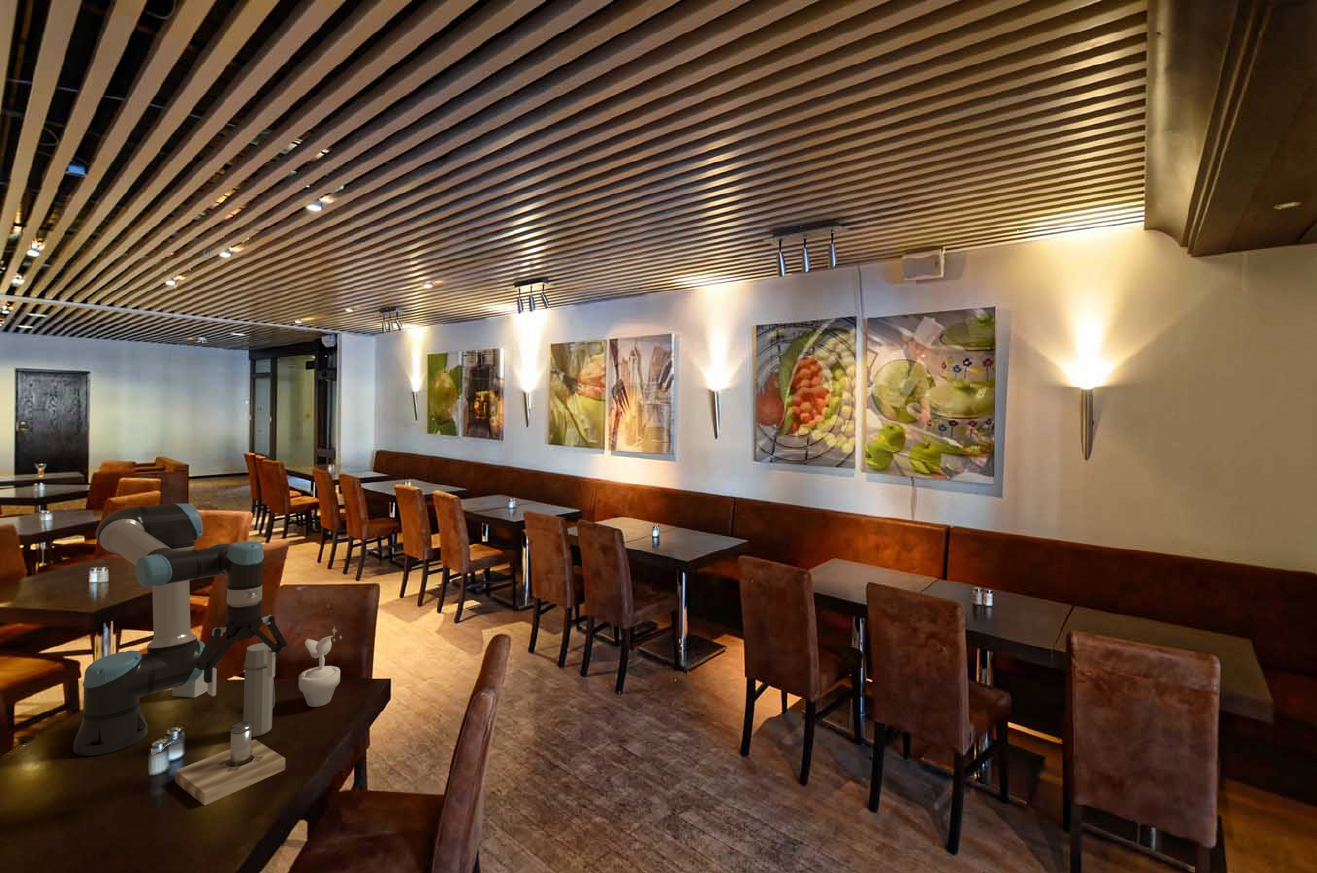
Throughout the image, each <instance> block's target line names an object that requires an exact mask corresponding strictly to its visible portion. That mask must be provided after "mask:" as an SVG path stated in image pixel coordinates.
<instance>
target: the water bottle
mask: <svg viewBox="0 0 1317 873" xmlns="http://www.w3.org/2000/svg"><path fill="white" fill-rule="evenodd" d="M269 650H271V649H270V648H269V647H268V646H267V645H266V644H264V643H263V642H260V643H254V644H252V645H249V646H247V647H246V654H245V660H244V663H243V666H244V683H243V684H244V685H243V686H244V688H243V689H244V690H243V719H242V720H243V721H242V722H250V723H251V724H252V729H251V738H255V737H261V736H263V735H265V734H267V733H269V732H270V731H271V730H272V728H273V709H274V708H275V703H276V694H275V693H276V692H275V682H274V678H275V677H270V676H268V675H267V651H269Z"/></svg>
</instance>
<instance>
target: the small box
mask: <svg viewBox="0 0 1317 873" xmlns="http://www.w3.org/2000/svg"><path fill="white" fill-rule="evenodd" d="M206 692H208V683H206V682H204V671H203V673H202V674H201V676H200V677H199V678H198V679H197V680H195V681H193V682H190V683H187V684H184V685H182V686H177V687H173V688H171V694H172V697H183V698H194V699H195V698H197V697H198V696H201V695H202V694H204V693H206Z"/></svg>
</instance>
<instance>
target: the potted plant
mask: <svg viewBox="0 0 1317 873" xmlns="http://www.w3.org/2000/svg"><path fill="white" fill-rule="evenodd" d="M331 630H332V633H333V635H330V636H326V637H323V638H321V639H320V640H319V641H317V640H314V639H309V638H306V640H305V641H304V646H305V647H306V648H307V650H308V652H309V654H310V657H312V658H314V659H317V658H319V659H318V662H319V663H318V666H316V667H311V668H308V669H305V670H304V671H302V672H301V673H300V674H299V675H298V689H299V691H300V692H301V693H303V696H304V699H305V702H306V705H307V706H309V707H311V708H319V707H321V706H322V707H323V706H325V705H327V704H329V703H330V702H331V700H332V698H333V695H334V693H335V690H336V687H337V686H338V685H339V684H340V682H341V669H340V667H337V666H333V665H325V662H326V661H325V658H326V657H325V656H326V655H328V653H329V652H330V651H331V649H332V645H333V644H332V641H333V642H336V639H335V637H334V635H335V634H336V632H337V629H336V626H335V624H334V625H333V629H331ZM333 637H334V638H333ZM332 638H333V639H332ZM342 638H343V636H342V635H340V636H339V640H342Z"/></svg>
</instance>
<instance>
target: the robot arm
mask: <svg viewBox="0 0 1317 873" xmlns="http://www.w3.org/2000/svg"><path fill="white" fill-rule="evenodd" d="M95 530H96V531H95V540H96V541H97V543H98V545H99V546H100V547H101V548H103V549H104V550H105V551H107V552H110V553H113V554H118V555H120V556H121V557H123V558H124V559H125V560H126V561H128V562H130V563H131V564H132V565H134V567H135V578H136V580H137V582H138V584H139V585H140V586H141V587H145V588H146V587H147V588H148V587H152V624H153V639H152V640H151V641H150V642H149V643H148V644H147V645H146V652H145V653H141V652H140V651H138V650H126V651H119V652H114V653H112V654H109V655H105V656H103V657H101V658H98V659H97V660H95V661H93V662H92V663H91V664H90V663H89V665H88V666H87V667H86V669H85V670H84V678H83V682H82V687H83V706H82V707H83V713H82V714H83V716H82V722H81V724H80V726H79V727H78V728H79V729H78V731H77V734H76V736H75V738H74V740H73V753H74V754H75V755H79V756H98V755H99V756H100V755H105V754H110V753H114V752H117V751H120V750H121V751H122V750H123V749H126V748H129V747H131V746H133V745H136V744H137V743H139V742H141V741H142V740H143V739H145V737H147V734H148V723H147V721H146V719H145V716H144V714H143V712H142V710H141V707H140V704H141V698H142V697H145V696H149V695H153V694H155V693H158V692H162V691H167V690H169V689H172V688H173V687H177V686H182V685H184V684H187V683H190V682H193V681H195V680H197V679H198V678H199V677H200V676H201V674H202V673H203V671H204V682H206V683H208V691H206V692H207V694H208V695H209V696H211V697H215V696H216V695H217V668H216V667H215V666H216V665H217V664H218V663H219V662H220V660H221V659H222V658H223V656H225V654H226V652H228V650H229V649H230V647H232V646H233V645H234V644H235V643H236V642H237V641H238V642H241V641H243V640H246V639H249V640H250V639H253V637H254V636H255V637H256V638H257V639H259V641H261V643H264V644H266V645H267V646H268V647H269V648H270V649H271V650H269V651H267V675H268V676H270V677H273V678H275V676H276V663H277V664H278V662H279V655H280V652H281V651H282V648H286V647H287V646H288V643H287V641H286V640H285V637H284V636H283V634H282V633H281V631H280V630H279V627H278V626H277V623H276V617H275V616H274V615H271V614H266V615H265V616H264V617H262V616H263V615H262V613H263V601H262V600H263V577H264V576H263V574H264V558H265V555H264V554H265V553H264V545H263V543H261V542H260V541H257V540H256V541H253V540H247V541H246V540H245V541H238V542H237V541H236V542H233V543H231V544H230V543H225V542H224V543H223V542H222V543H215V544H212V545H211V546H210V547H204V548H196V549H194V548H195V542H196V541H198V540H200V539H201V538H202V537H203V532H204V524H203V520H202V516H201V514H200V512H199V510H198V509H197V507H195V506H194V504H191V503H168V504H155V505H141V506H129V507H125V508H121V509H118V510H116V511H114V512H112V513H110V514H107V516H105V518H103V519H102V520H101V521H100V523H99V524H98V525H97V527H96V529H95ZM216 576H226V579H227V580H226V582H227V583H226V604H227V606H226V607H225V608H226V614H225V619H226V624H225V625H224V626H221V627H216V626H213V627H212V628H211V629H210V634H209V635H210V636H209V638H208V639H207V641H206V643H204V642H203V641H201V640H198V636H197V635H196V634H194V633H192V632H191V629H192V628H191V627H192V626H191V601H190V599H191V596H190V595H191V594H190V581H193V580H197V579H198V580H199V579H205V578H210V577H216ZM263 624H264V625H266V627H267V628H268V631H269V632H270V633H271V635H272V637H273V639H274V640H275V642H276V643H275V642H274V641H273V640H272V639H270V638H269V637H268V636H267V635H266V634H265V633H264V632H263V631H262V630H260V628H261V626H262V625H263ZM224 633H226V635H225V636H224V635H223V634H224ZM222 636H224V637H223V639H222V641H221V642H220V644H219V645H218V643H219V641H220V639H221V637H222ZM217 645H218V646H217Z"/></svg>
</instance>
